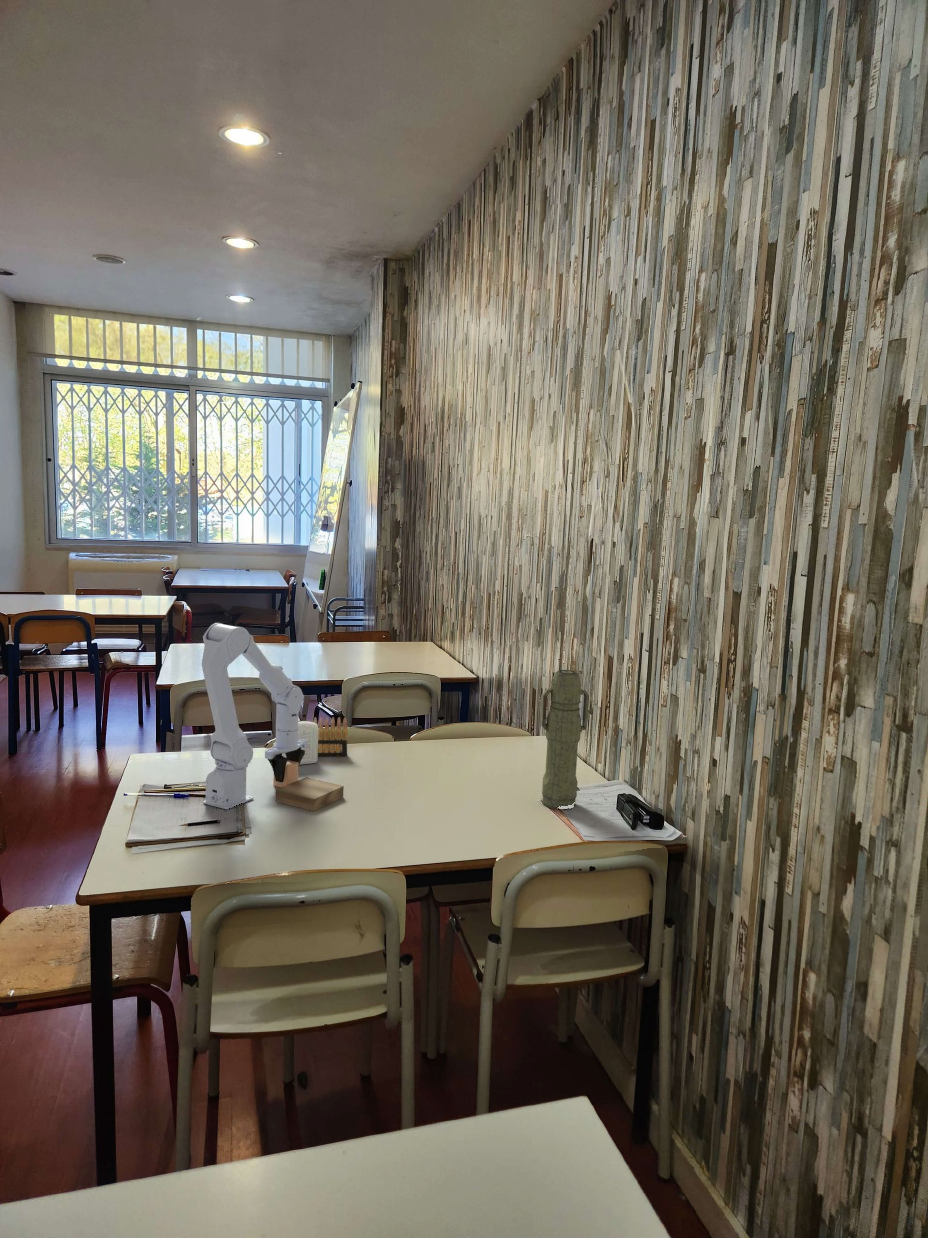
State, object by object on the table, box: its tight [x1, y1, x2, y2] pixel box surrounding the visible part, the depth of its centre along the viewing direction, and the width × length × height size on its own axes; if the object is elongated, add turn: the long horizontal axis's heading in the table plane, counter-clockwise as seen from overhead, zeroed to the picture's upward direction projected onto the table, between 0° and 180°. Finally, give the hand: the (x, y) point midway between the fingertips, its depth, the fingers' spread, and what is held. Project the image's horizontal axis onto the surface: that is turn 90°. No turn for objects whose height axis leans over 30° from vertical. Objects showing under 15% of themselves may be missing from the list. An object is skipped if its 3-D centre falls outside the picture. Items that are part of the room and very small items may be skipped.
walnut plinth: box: [274, 776, 344, 812], centre depth 199 cm, size 12×12×3 cm
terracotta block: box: [273, 760, 299, 788], centre depth 209 cm, size 4×4×6 cm
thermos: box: [540, 669, 590, 810], centre depth 203 cm, size 9×12×35 cm
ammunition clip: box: [312, 716, 348, 758], centre depth 237 cm, size 11×2×12 cm, turn 101°
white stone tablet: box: [282, 720, 319, 766], centre depth 228 cm, size 10×4×12 cm, turn 123°
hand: (285, 779), depth 209 cm, fingers closed on terracotta block, 4 cm apart
